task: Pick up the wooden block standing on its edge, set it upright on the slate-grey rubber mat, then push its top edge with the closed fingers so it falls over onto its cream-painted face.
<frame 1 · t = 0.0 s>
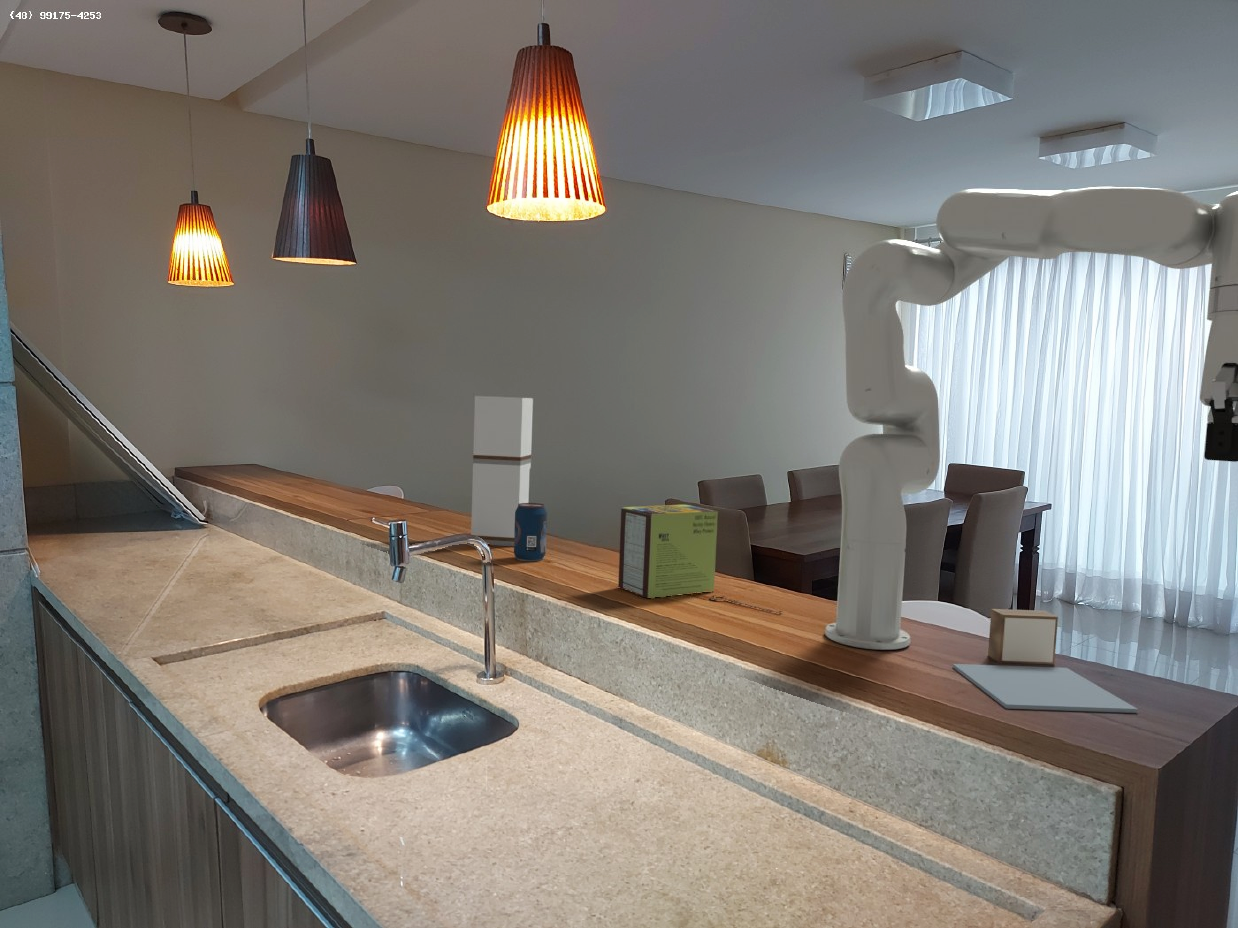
hand: (1234, 460, 96), 31 cm above the worktop, tool pointing down, fingers open, 9 cm apart
rubber mat: (1038, 688, 111), on the worktop
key: (748, 608, 152), on the worktop
soda can: (529, 559, 187), on the worktop
wooden block: (1020, 660, 124), on the worktop
protein box: (665, 591, 161), on the worktop
banded white tower: (500, 542, 207), on the worktop
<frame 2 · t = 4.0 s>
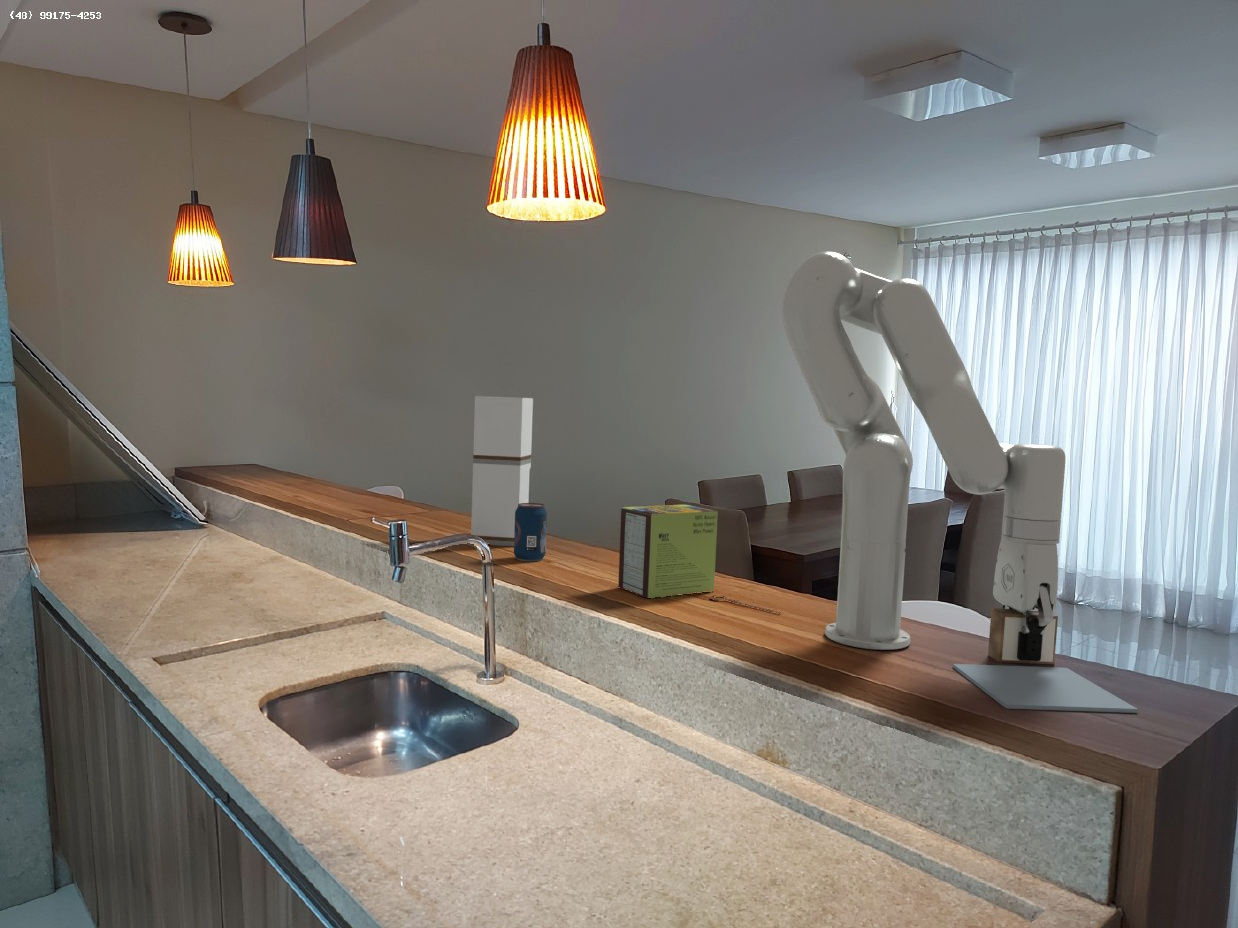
hand: (1021, 654, 124), 1 cm above the worktop, tool pointing down, fingers closed on wooden block, 3 cm apart
wooden block: (1020, 659, 124), on the worktop, touching gripper
everything else where it was.
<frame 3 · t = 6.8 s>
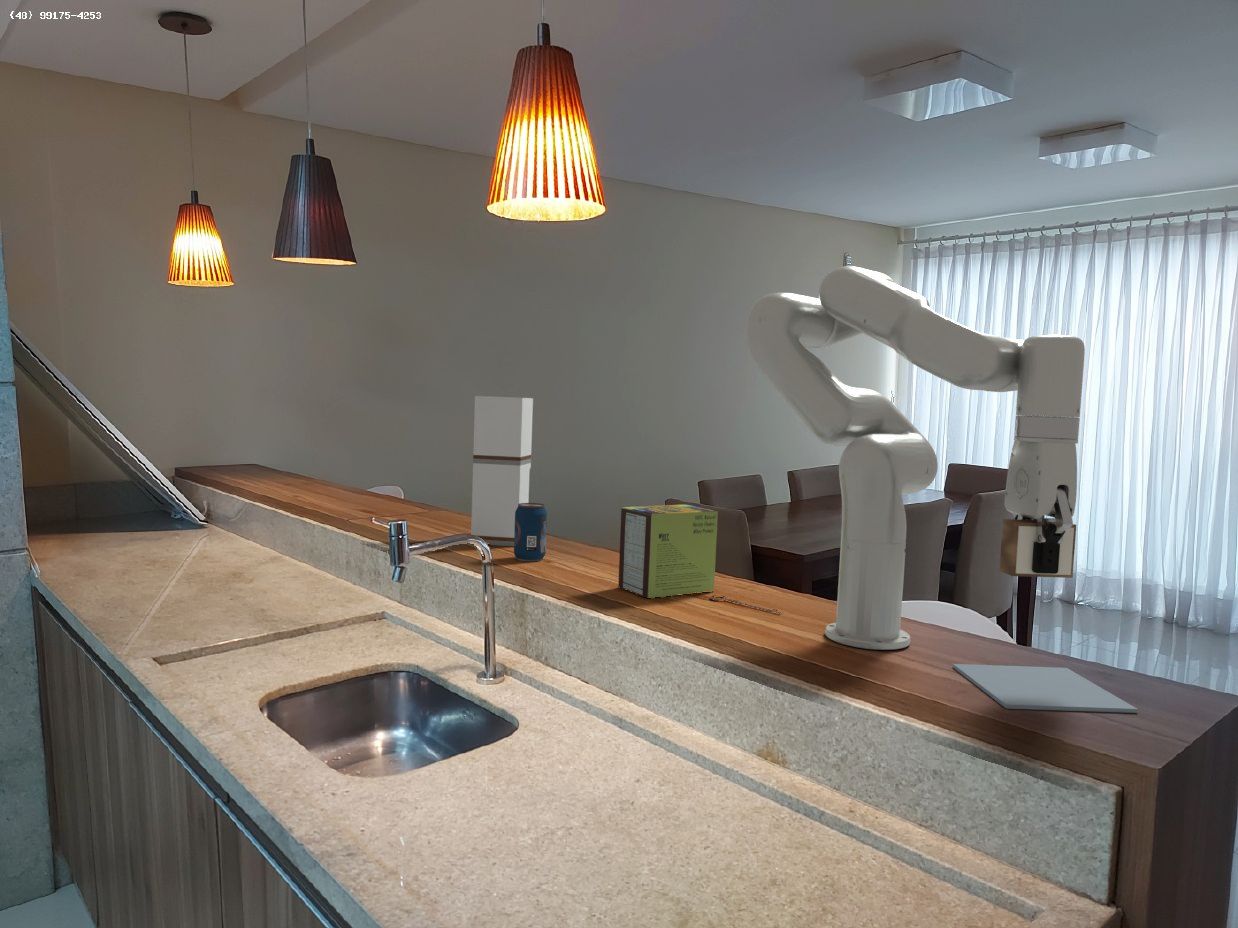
hand: (1036, 568, 113), 15 cm above the worktop, tool pointing down, fingers closed on wooden block, 3 cm apart
wooden block: (1035, 574, 113), point 14 cm above the worktop, touching gripper
everything else where it was.
when the fingers open (2 cm above the worktop, at t = 9.5 s): wooden block stays where it is, resting on rubber mat.
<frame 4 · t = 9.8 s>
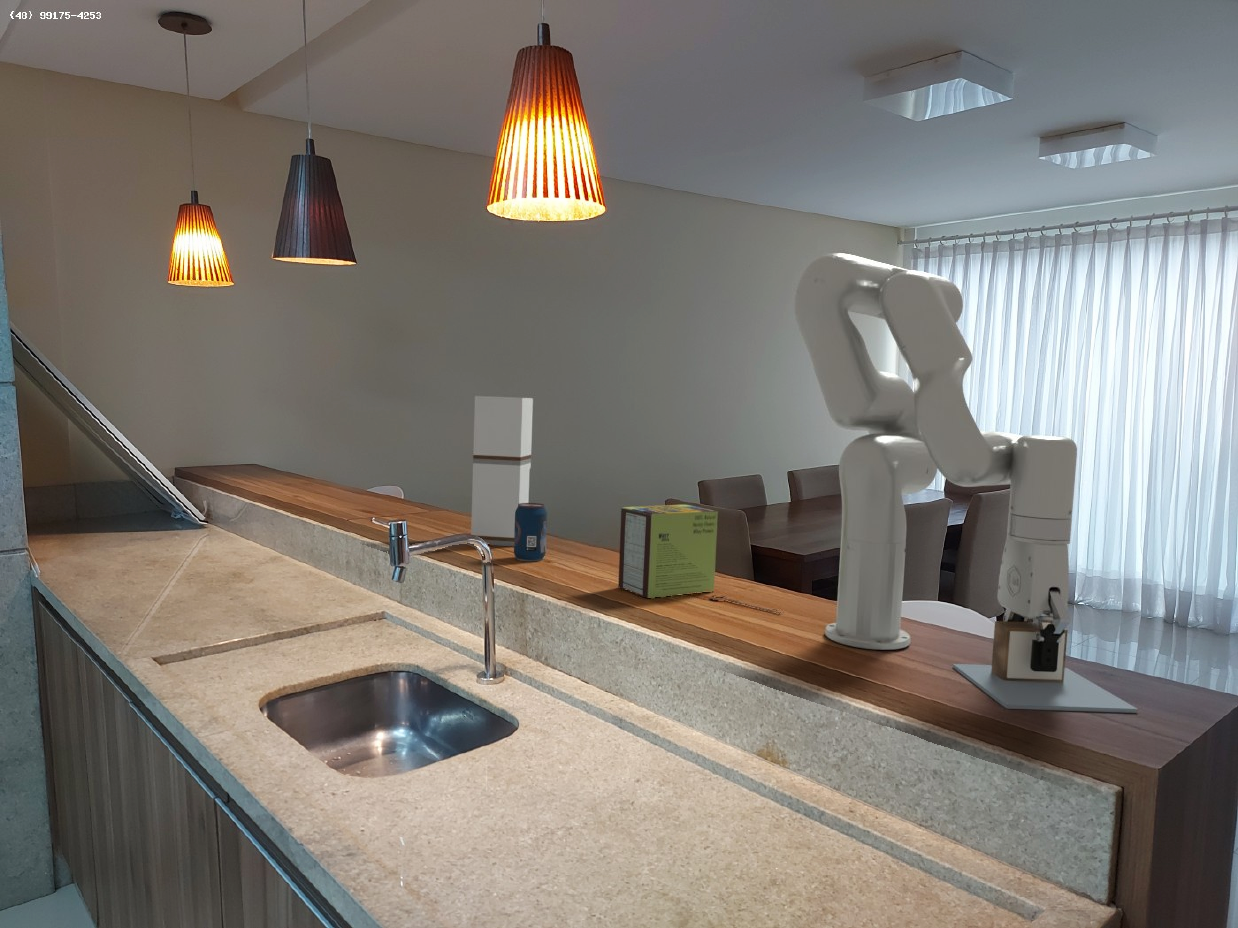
hand: (1028, 660, 114), 3 cm above the worktop, tool pointing down, fingers open, 7 cm apart
wooden block: (1026, 676, 114), resting on rubber mat
everything else where it was.
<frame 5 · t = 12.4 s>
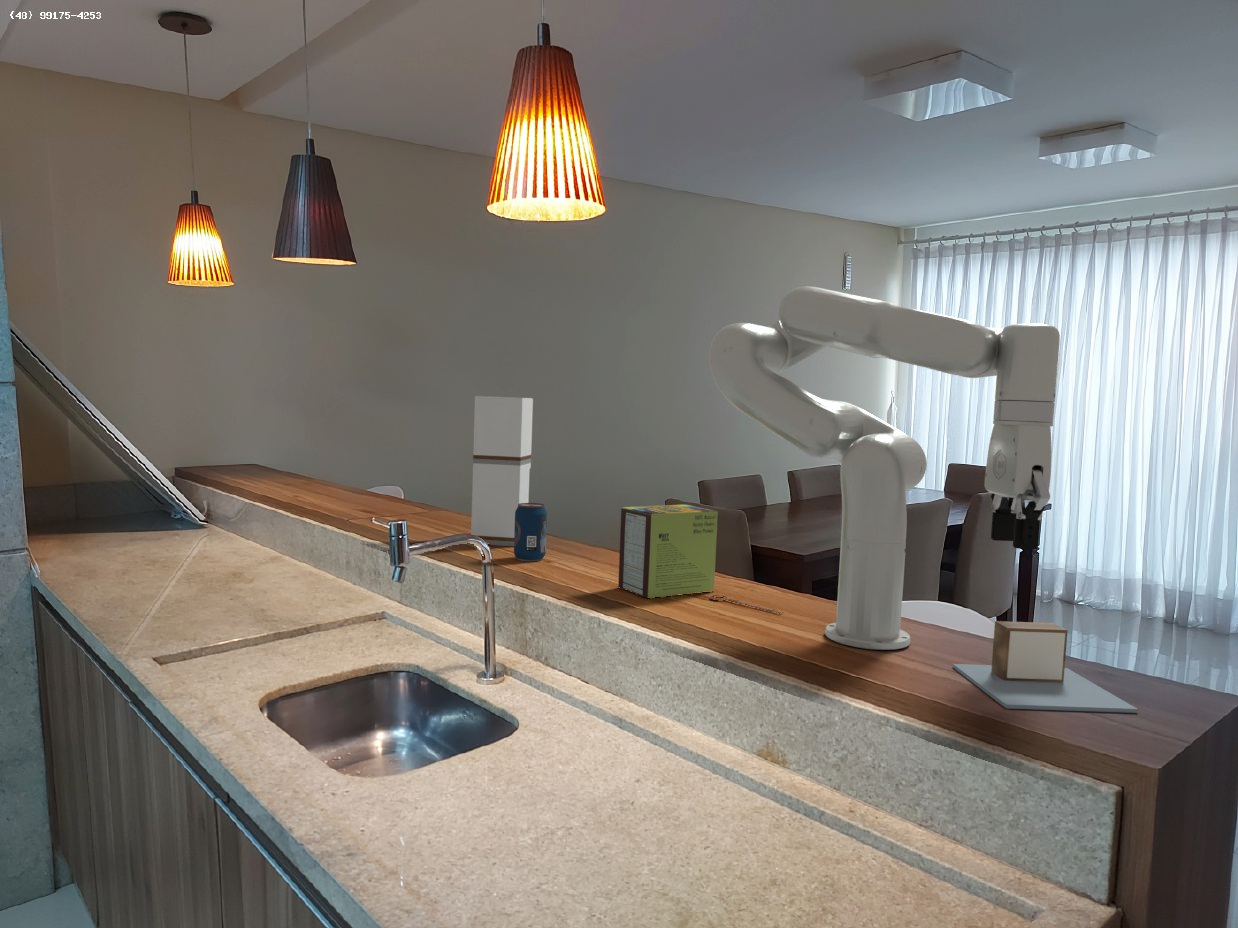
hand: (1013, 543, 119), 18 cm above the worktop, tool pointing down, fingers open, 5 cm apart
nothing on the worktop moved.
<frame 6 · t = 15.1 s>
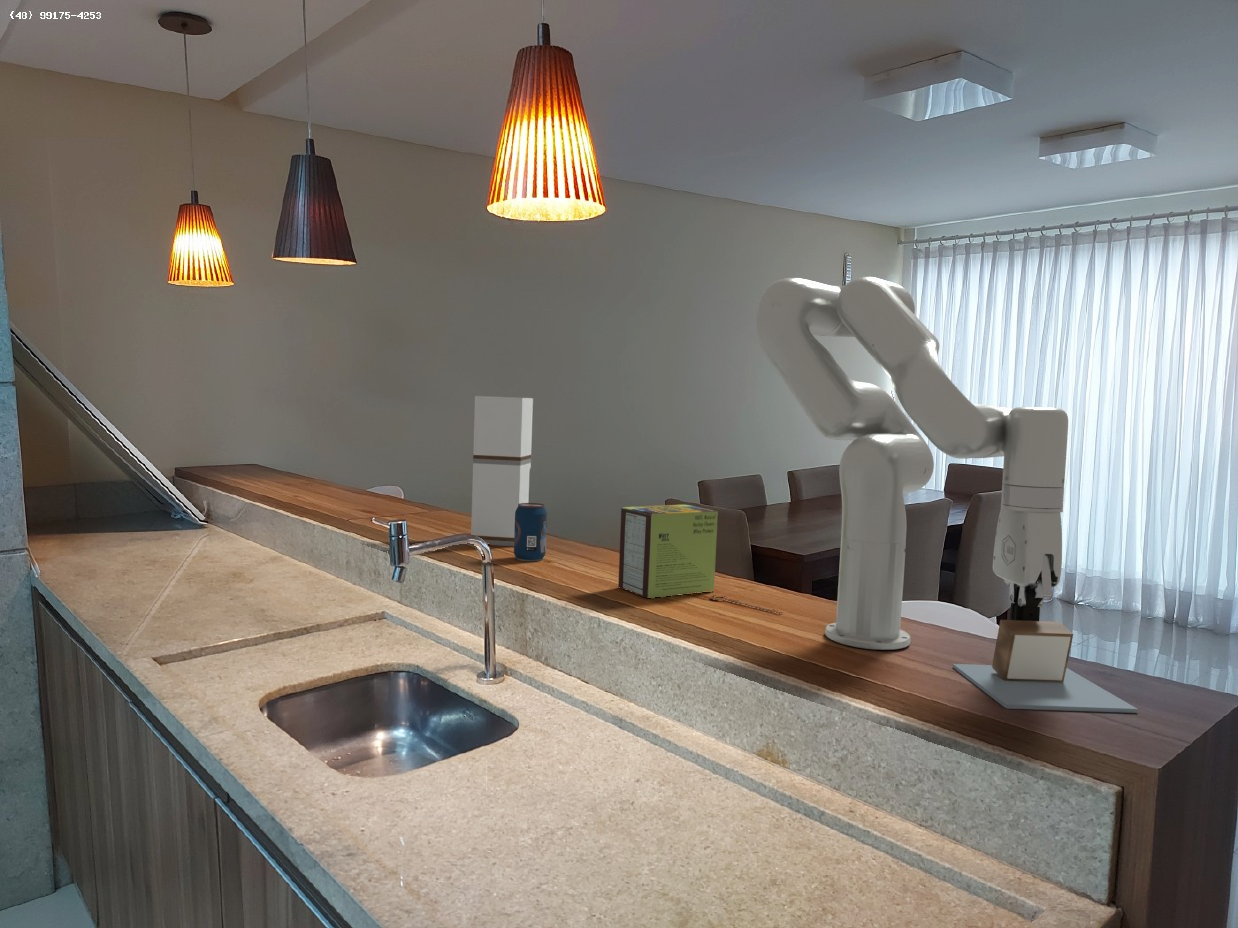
hand: (1023, 633, 116), 6 cm above the worktop, tool pointing down, fingers closed
wooden block: (1027, 674, 114), point 1 cm above the worktop, tilted 12°, touching rubber mat
everything else where it was.
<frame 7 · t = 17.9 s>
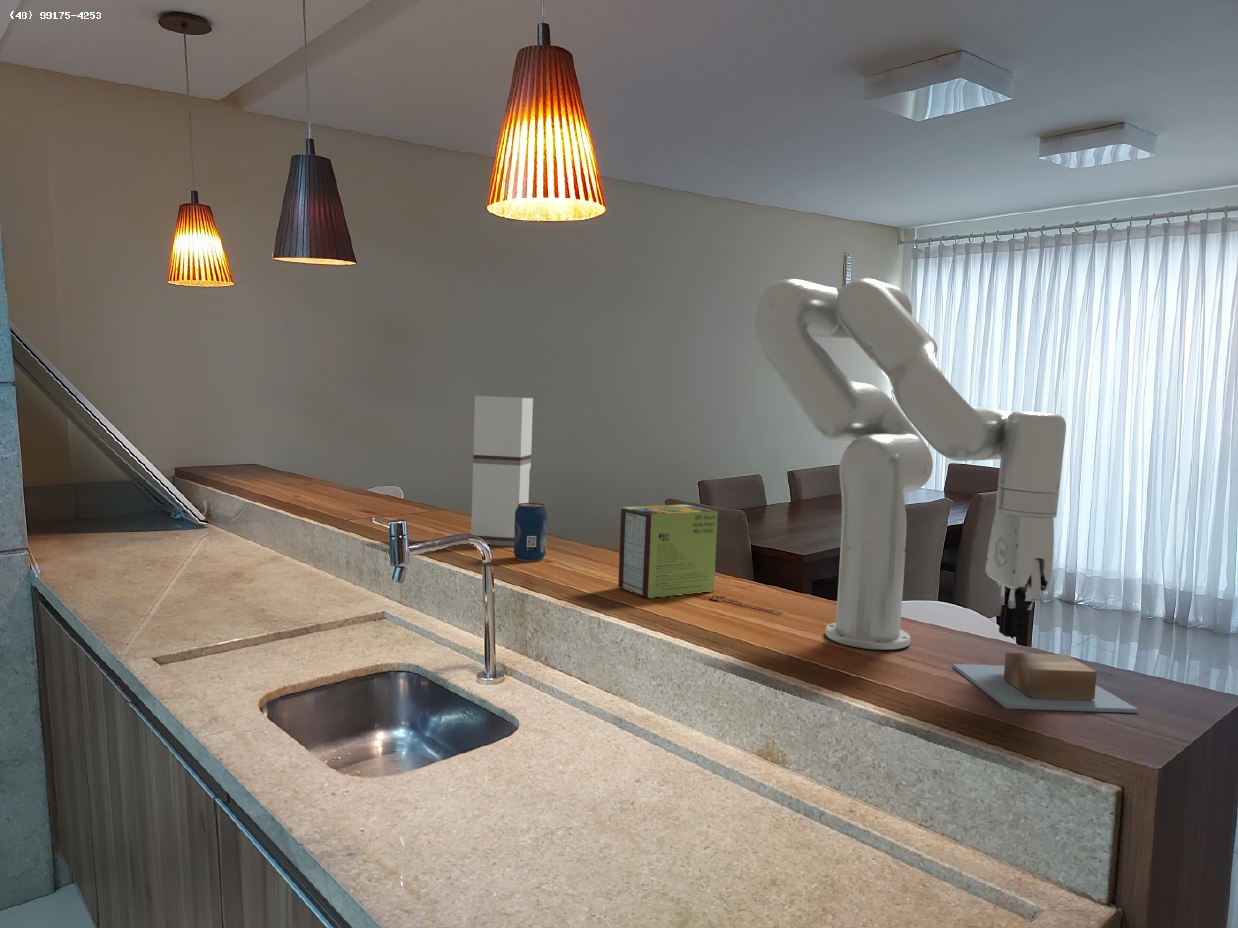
hand: (1012, 635, 117), 5 cm above the worktop, tool pointing down, fingers closed
wooden block: (1034, 666, 112), point 2 cm above the worktop, tilted 90°, touching rubber mat
everything else where it was.
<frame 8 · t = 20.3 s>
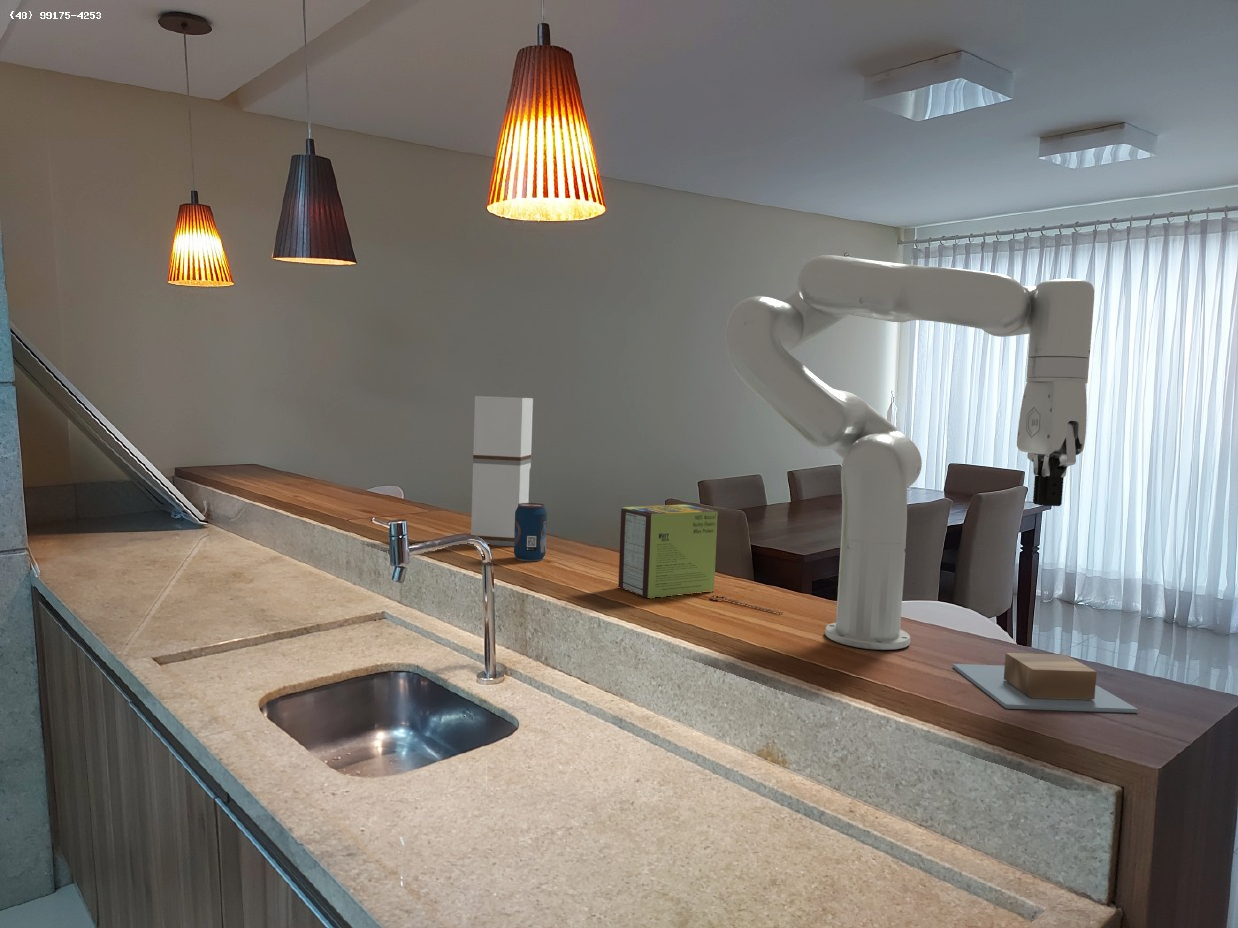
hand: (1046, 504, 119), 23 cm above the worktop, tool pointing down, fingers closed
nothing on the worktop moved.
at the end: wooden block tilted 90°; wooden block inside the target area on the rubber mat (1.3 cm from its centre), point 2.4 cm above the rubber mat's base; the gripper is holding nothing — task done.
